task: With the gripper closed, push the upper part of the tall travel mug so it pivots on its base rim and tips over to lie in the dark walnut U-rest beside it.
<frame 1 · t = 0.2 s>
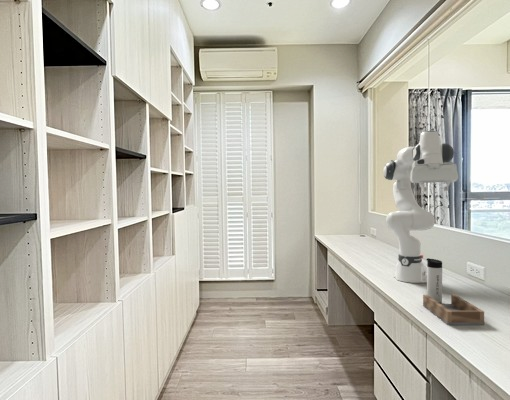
hand: (435, 191, 171), 51 cm above the table, tool tilted 20°, fingers open, 8 cm apart
travel mug: (433, 302, 171), on the table
u rest: (451, 314, 155), on the table
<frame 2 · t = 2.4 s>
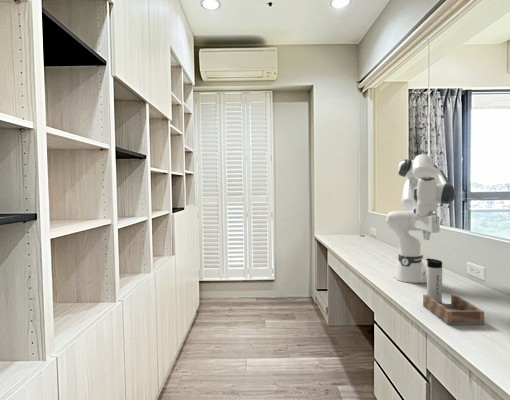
hand: (426, 239, 178), 28 cm above the table, tool pointing down, fingers closed
nothing on the table moved.
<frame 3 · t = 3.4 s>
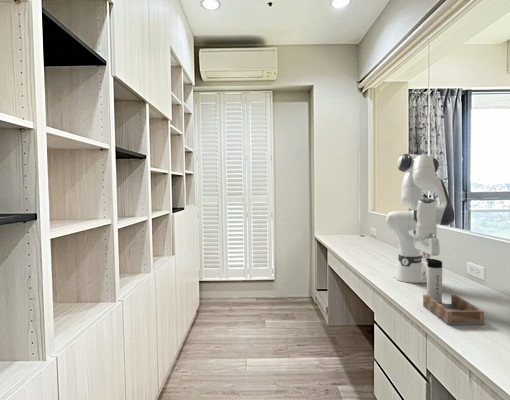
hand: (426, 261, 178), 17 cm above the table, tool pointing down, fingers closed
nothing on the table moved.
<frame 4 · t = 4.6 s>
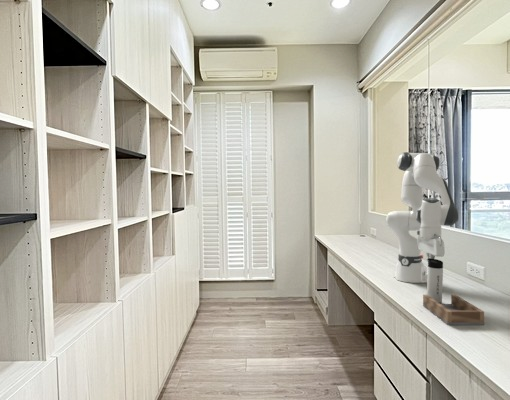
hand: (430, 262, 174), 18 cm above the table, tool pointing down, fingers closed
travel mug: (433, 302, 171), on the table, touching gripper
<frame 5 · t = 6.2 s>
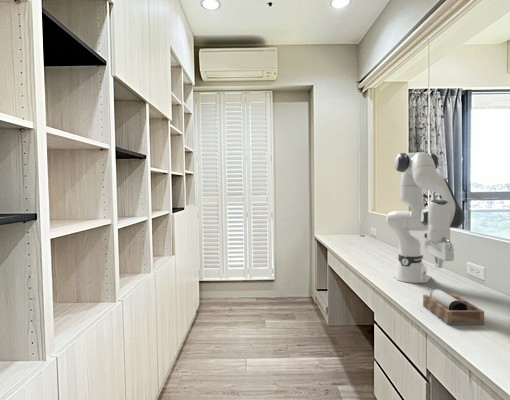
hand: (438, 267, 166), 17 cm above the table, tool pointing down, fingers closed
travel mug: (435, 295, 168), point 4 cm above the table, touching u rest
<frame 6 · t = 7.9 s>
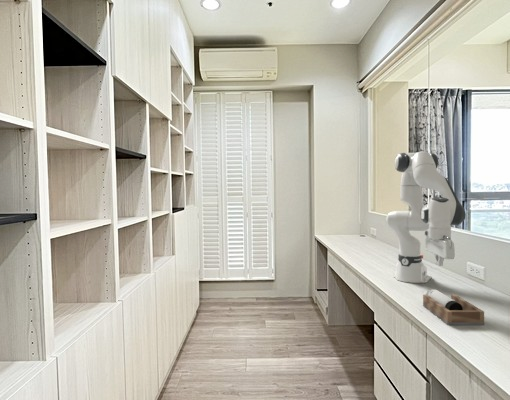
hand: (439, 265, 165), 18 cm above the table, tool pointing down, fingers closed
travel mug: (432, 295, 168), point 4 cm above the table, touching u rest
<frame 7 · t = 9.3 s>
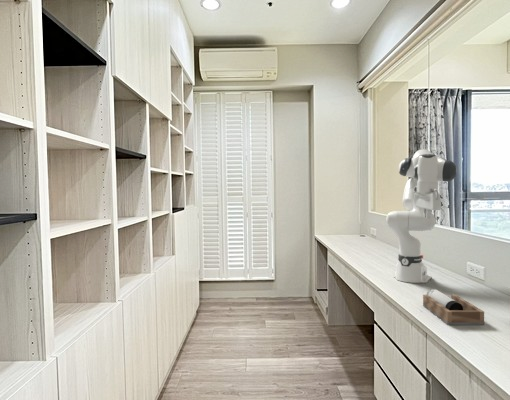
hand: (427, 218, 175), 38 cm above the table, tool pointing down, fingers closed
nothing on the table moved.
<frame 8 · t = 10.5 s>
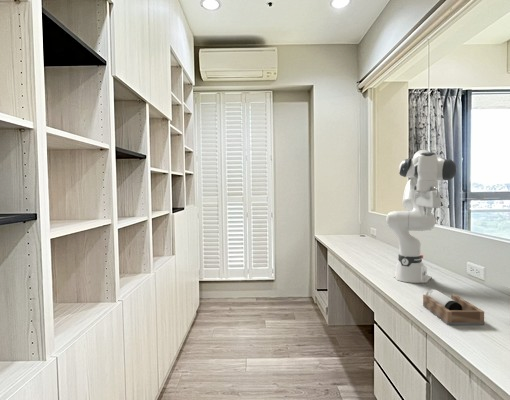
hand: (427, 216, 175), 39 cm above the table, tool pointing down, fingers closed
nothing on the table moved.
at the end: travel mug tilted 90°; travel mug touching u rest; travel mug inside the target area (6.8 cm from its centre), point 4.1 cm above the table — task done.
